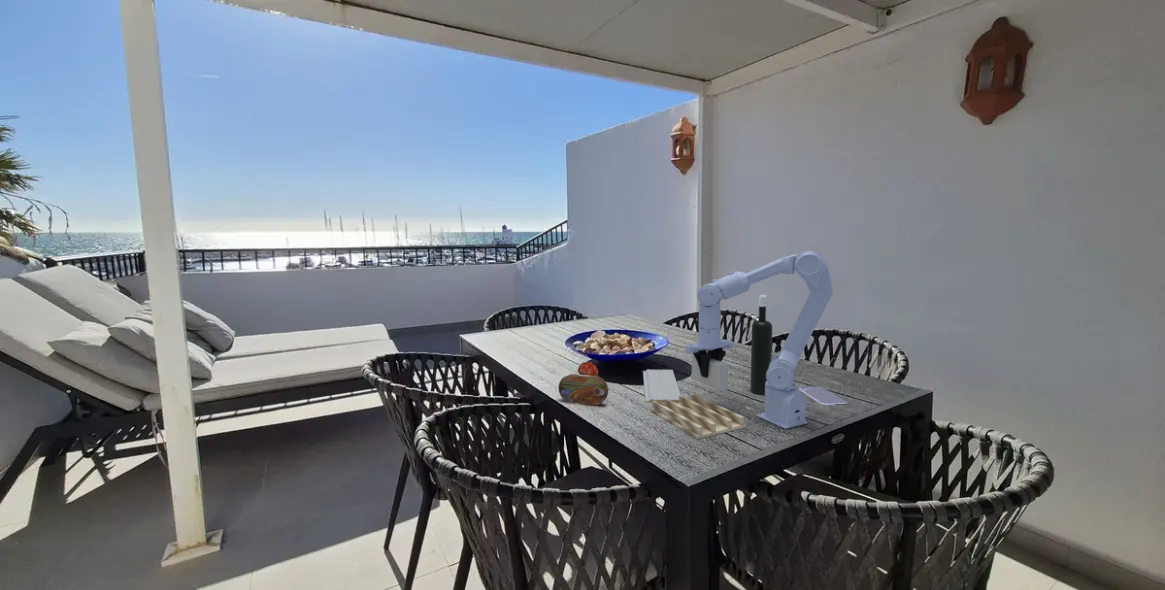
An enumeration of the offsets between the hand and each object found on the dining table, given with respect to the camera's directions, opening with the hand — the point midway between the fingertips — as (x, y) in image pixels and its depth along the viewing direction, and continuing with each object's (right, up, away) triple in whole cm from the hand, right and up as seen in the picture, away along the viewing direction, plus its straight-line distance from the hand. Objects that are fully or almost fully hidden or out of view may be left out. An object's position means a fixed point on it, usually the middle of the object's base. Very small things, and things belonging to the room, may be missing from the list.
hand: (708, 376), depth 125 cm
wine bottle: (+20, -8, +14) cm, 26 cm away
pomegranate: (-33, -7, +27) cm, 44 cm away
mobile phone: (+36, -8, +10) cm, 38 cm away
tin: (-35, -10, +8) cm, 37 cm away
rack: (-5, -10, -6) cm, 13 cm away
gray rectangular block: (0, -2, 0) cm, 2 cm away
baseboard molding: (-10, -8, +22) cm, 26 cm away
